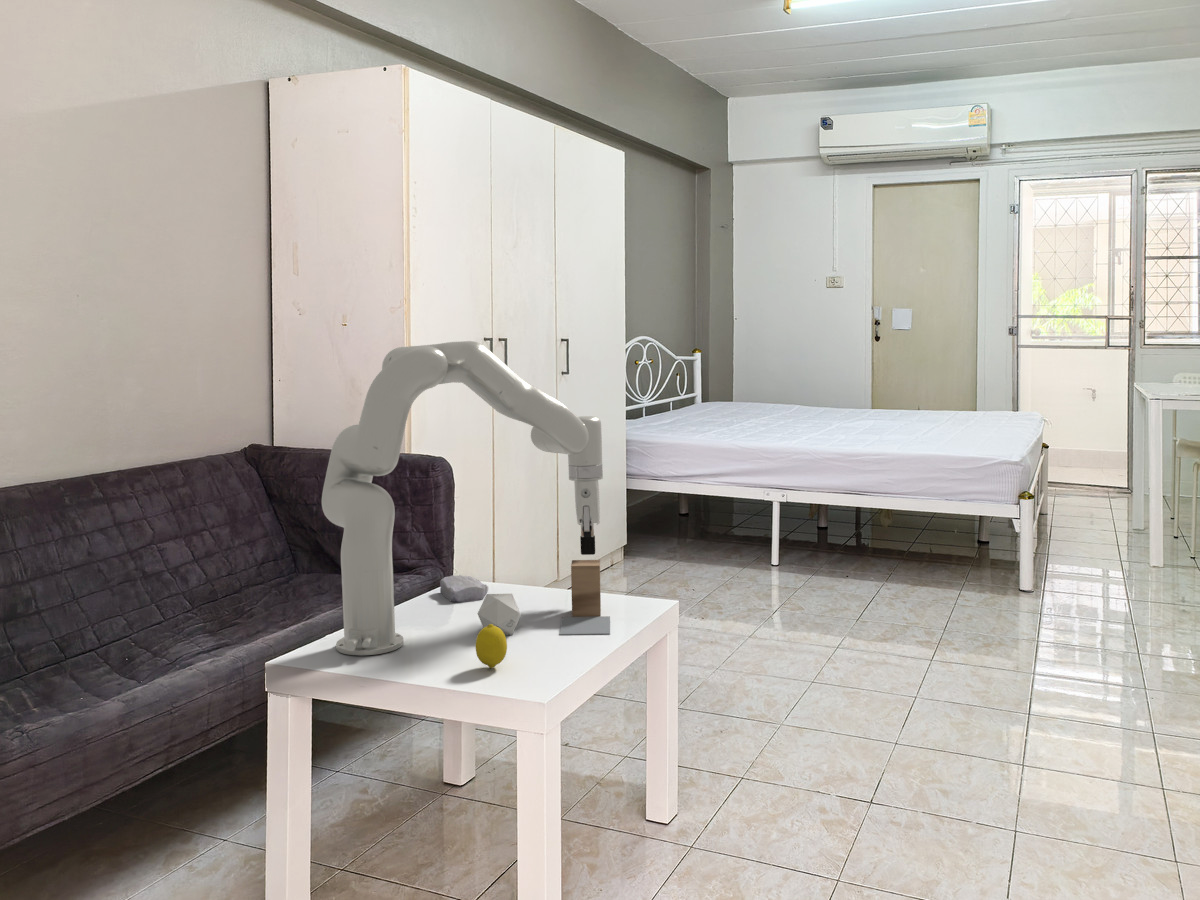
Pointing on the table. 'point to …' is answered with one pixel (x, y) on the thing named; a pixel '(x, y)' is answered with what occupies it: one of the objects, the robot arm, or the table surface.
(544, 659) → the table surface
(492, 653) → the lemon
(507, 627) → the die
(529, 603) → the table surface
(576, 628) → the pad
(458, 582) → the stone block
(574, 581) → the walnut block
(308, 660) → the table surface
